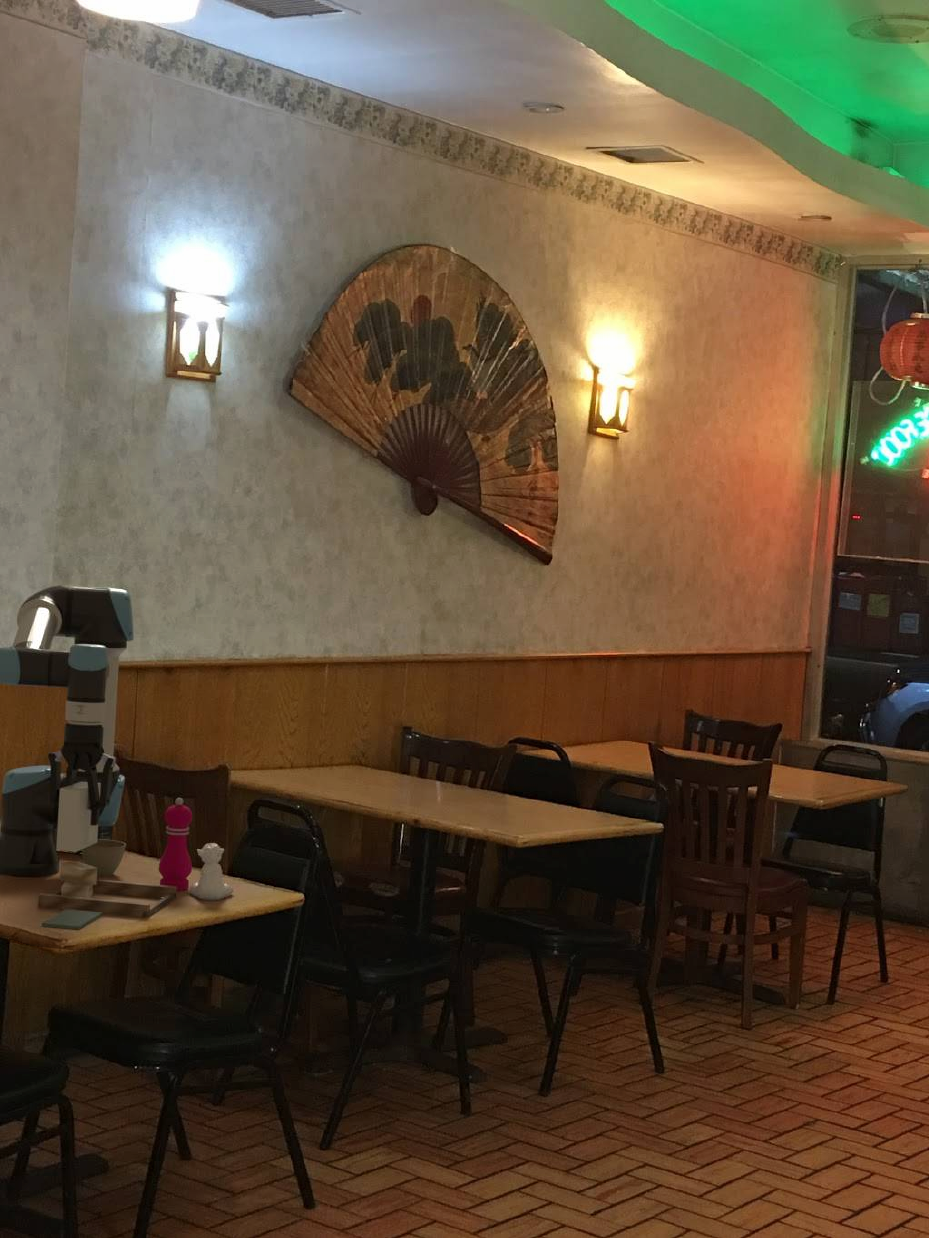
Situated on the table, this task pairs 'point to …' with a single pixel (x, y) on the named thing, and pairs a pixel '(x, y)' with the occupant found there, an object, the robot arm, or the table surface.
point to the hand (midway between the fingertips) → (77, 840)
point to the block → (74, 818)
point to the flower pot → (104, 856)
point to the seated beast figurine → (211, 875)
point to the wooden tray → (112, 905)
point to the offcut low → (76, 890)
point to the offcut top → (78, 873)
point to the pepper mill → (176, 847)
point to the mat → (72, 919)
